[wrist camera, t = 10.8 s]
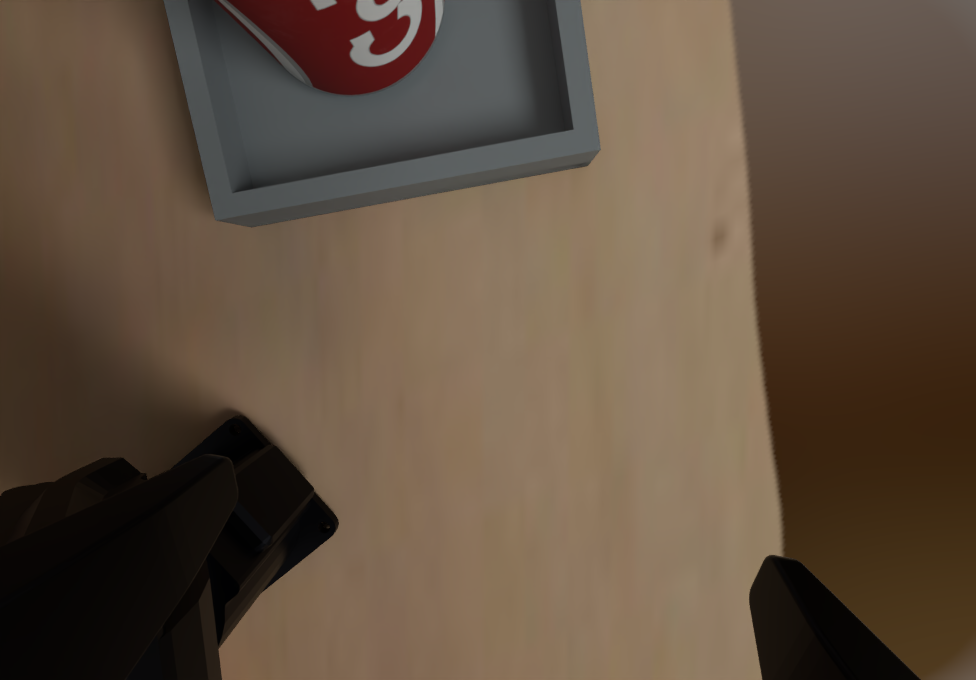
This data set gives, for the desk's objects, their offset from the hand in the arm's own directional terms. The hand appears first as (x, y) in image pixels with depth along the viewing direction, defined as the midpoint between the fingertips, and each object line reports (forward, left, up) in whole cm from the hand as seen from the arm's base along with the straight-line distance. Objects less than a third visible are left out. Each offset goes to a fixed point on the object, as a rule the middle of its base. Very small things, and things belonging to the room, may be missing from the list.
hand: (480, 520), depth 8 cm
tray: (+6, +13, -12) cm, 19 cm away
